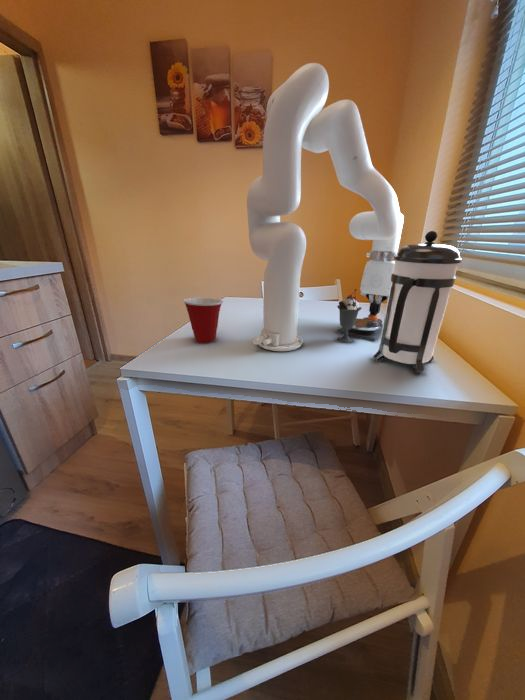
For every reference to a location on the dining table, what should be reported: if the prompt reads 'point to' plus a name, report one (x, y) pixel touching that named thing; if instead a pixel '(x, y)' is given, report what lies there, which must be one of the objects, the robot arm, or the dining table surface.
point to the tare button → (373, 317)
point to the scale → (365, 332)
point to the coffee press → (417, 301)
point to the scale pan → (366, 325)
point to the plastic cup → (203, 317)
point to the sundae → (348, 316)
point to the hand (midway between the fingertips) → (373, 314)
